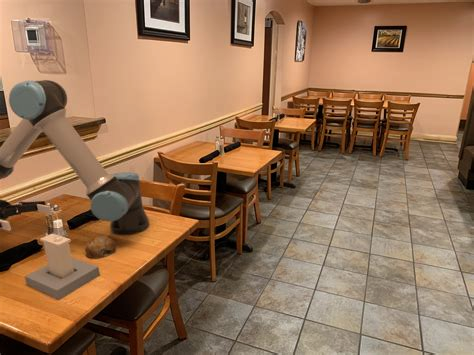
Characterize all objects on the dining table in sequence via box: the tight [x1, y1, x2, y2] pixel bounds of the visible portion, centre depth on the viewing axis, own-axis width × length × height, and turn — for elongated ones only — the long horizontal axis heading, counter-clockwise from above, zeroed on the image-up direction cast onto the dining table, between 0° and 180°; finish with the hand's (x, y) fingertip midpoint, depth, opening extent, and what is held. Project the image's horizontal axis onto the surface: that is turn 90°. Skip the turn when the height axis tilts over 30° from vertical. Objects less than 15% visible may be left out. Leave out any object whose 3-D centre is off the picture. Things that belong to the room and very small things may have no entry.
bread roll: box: [84, 234, 117, 259], centre depth 125 cm, size 10×10×8 cm
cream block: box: [39, 233, 74, 279], centre depth 107 cm, size 4×9×15 cm, turn 59°
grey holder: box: [24, 256, 101, 300], centre depth 109 cm, size 14×16×3 cm
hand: (30, 218), depth 114 cm, fingers open, 13 cm apart
